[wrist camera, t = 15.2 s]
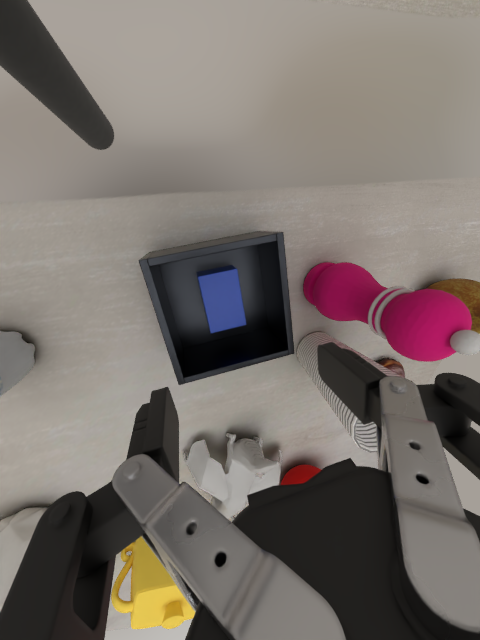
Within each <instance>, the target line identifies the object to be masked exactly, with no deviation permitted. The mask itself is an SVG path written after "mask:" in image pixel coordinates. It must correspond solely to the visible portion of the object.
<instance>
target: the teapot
mask: <svg viewBox="0 0 480 640" xmlns="http://www.w3.org/2000/svg"><path fill="white" fill-rule="evenodd" d="M128 551H132V554H131V556H130V555H129V556H128V555H126V552H128ZM121 559H122V561H123V562H126V564H125V566H124V567H123V569H122V570H121V572H120V574H119V575H118V577H117V579H116V581H115V584H114V586H113V589H112V594H111V600H112V604H113V606H114V608H115V609H116V610H117V611H119V612H121V613H128V612H131V627H132V629H143V628H149V627H155V626H161V625H162V627H163V628H166V629H171V628H175V627H177V626H179V625H180V624H181V623H183V621H184V620H188V619H192V618H193V617H194V615H195V611H194V610H193V608H192V607H191V605H190V604H189V603H188V601H187V600H186V599H185V597H184V596H183V594H182V593H181V591H180V590H179V589H178V587H177V586H176V584H175V582H174V581H173V579H172V578H171V576H170V575H169V573H168V572H167V571H166V569H165V568H164V566H163V565H162V564H161V562H160V561H159V560H158V558H157V557H156V556H155V554H154V553H153V552H152V550H151V549H150V547H149V546H148V545H147V543H146V542H145V541H144V539H143V538H142V537H140V538H138V539H137V540H136V541H135V542H133V543H131V544H130V545H129V546H127V547H126V548H125V549H123V550H122V552H121ZM131 566H132V574H131V601H123V600H121V599H120V598H119V596H118V592H119V589H120V586H121V584H122V582H123V580H124V578H125V576H126V574H127V573H128V571H129V569H130V568H131Z"/></svg>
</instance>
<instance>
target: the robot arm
mask: <svg viewBox="0 0 480 640" xmlns="http://www.w3.org/2000/svg"><path fill="white" fill-rule="evenodd" d="M317 356H318V372H319V375H320V377H321V379H322V380H323V382H324V383H325V384H326V385H327V386H328V387H329V388H330V389H331V390H332V391H333V392H334V393H335V395H336V396H337V397H338V398H339V399H340V400H341V401H342V402H343V403H344V404H345V405H346V406H347V407H348V408H349V410H350V411H351V412H352V413H353V414H354V415H355V416H356V417H357V418H358V419H359V420H360V421H361V422H362V424H363V425H365V424H368V423H371V422H374V423H375V424H376V440H377V455H378V469H376V468H371V467H362V466H356V465H355V464H354V462H353V461H352V460H351V458H349V459H346V460H343V461H341V462H338V463H335V464H332V465H329V466H327V467H325V468H324V469H322V470H321V471H320V472H318V473H317V474H316V475H314V476H313V477H312V478H310V479H309V480H308V481H306V482H305V483H301V484H289V485H276V486H271V487H269V488H266V489H263V490H260V491H258V492H255V493H252V494H249V495H247V498H248V502H249V506H247V507H246V508H245V509H243V510H242V511H241V512H240V513H239V514H238V515H237V517H236V518H235V519H234V520H233V521H232V522H230V521H229V520H228V519H227V518H226V517H225V516H224V515H222V514H221V513H220V512H219V511H218V510H217V509H216V508H215V507H213V506H212V505H211V504H210V503H209V502H208V501H207V500H206V499H204V498H203V497H202V496H201V495H200V494H199V493H198V492H197V491H195V490H194V489H193V488H192V487H191V486H190V485H189V484H187V483H186V482H182V483H181V484H179V420H178V415H177V411H176V408H175V405H174V402H173V399H172V396H171V393H170V391H169V388H168V387H165V388H162V389H158V390H154V391H152V393H151V399H150V403H147V404H143V405H142V406H141V408H140V409H139V411H138V412H137V414H136V418H135V424H134V427H133V432H132V436H131V441H130V445H129V450H128V455H127V459H126V461H125V462H123V463H122V464H121V465H120V466H119V468H118V469H117V470H116V472H115V474H114V476H113V479H112V481H111V482H110V483H108V484H107V485H105V486H104V487H102V488H101V489H99V490H97V491H96V492H94V493H92V494H91V495H89V496H87V497H86V496H85V495H84V494H83V493H82V492H78V491H76V492H71V493H68V494H66V495H64V496H62V497H61V498H59V499H58V500H56V501H55V502H54V503H53V504H52V505H51V506H49V507H48V509H47V510H46V511H45V512H44V513H43V515H42V516H41V518H40V519H39V521H38V523H37V526H36V528H35V530H34V533H33V535H32V538H31V540H30V542H29V545H28V547H27V550H26V552H25V554H24V557H23V559H22V561H21V564H20V566H19V569H18V571H17V573H16V576H15V578H14V581H13V583H12V585H11V588H10V590H9V592H8V595H7V597H6V600H5V602H4V604H3V607H2V609H1V612H0V640H104V637H105V630H106V623H107V616H108V608H109V601H110V594H111V587H112V580H113V572H114V565H115V558H116V555H117V554H118V553H119V552H121V551H122V550H123V549H125V548H126V547H127V546H129V545H130V544H131V543H133V542H134V541H135V540H137V539H138V538H140V537H142V538H143V539H144V541H145V542H146V543H147V545H148V546H149V547H150V549H151V550H152V552H153V553H154V554H155V556H156V557H157V558H158V560H159V561H160V562H161V564H162V565H163V566H164V568H165V569H166V571H167V572H168V573H169V575H170V576H171V578H172V579H173V581H174V582H175V584H176V586H177V587H178V589H179V590H180V591H181V593H182V594H183V596H184V597H185V599H186V600H187V601H188V603H189V604H190V605H191V607H192V608H193V610H194V611H195V615H194V617H193V620H192V623H191V625H190V628H189V631H188V633H187V636H186V639H185V640H480V516H478V515H476V514H474V513H472V512H470V511H468V510H465V509H463V508H462V504H461V501H460V498H459V495H458V492H457V489H456V486H455V483H454V480H453V477H452V474H451V471H450V467H449V464H448V462H447V458H446V455H445V452H444V449H443V447H444V448H445V449H446V450H447V451H448V452H449V453H451V454H452V455H453V456H454V457H455V458H456V459H457V460H458V461H459V462H461V463H462V464H463V465H464V466H465V467H466V468H467V469H468V470H469V471H471V472H472V473H473V474H474V475H475V476H476V477H477V478H478V479H479V480H480V434H479V433H478V432H477V431H475V430H474V429H473V428H471V427H470V425H471V422H472V421H474V422H475V423H476V424H478V425H479V426H480V383H478V382H476V381H474V380H472V379H471V378H468V377H466V376H463V375H460V374H455V373H442V374H439V375H437V376H436V378H435V384H430V385H429V384H428V385H415V384H414V383H413V382H412V381H410V380H408V379H406V378H402V377H397V376H387V375H386V374H384V373H383V372H381V371H380V370H379V369H377V368H376V367H374V366H373V365H372V364H370V363H369V362H367V361H366V360H365V359H363V358H361V356H359V355H358V354H356V353H355V352H354V351H351V350H348V349H345V348H342V349H341V348H340V347H339V346H338V345H336V344H335V343H333V342H329V343H326V344H322V345H319V346H318V347H317Z"/></svg>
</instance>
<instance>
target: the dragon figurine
mask: <svg viewBox="0 0 480 640" xmlns="http://www.w3.org/2000/svg"><path fill="white" fill-rule="evenodd" d="M226 437H229V438H230V439H229V441H228V442H227V454H228V456H227V460H226V464H225V468H224V470H223V468H222V465H221V464H220V463H219V462H217V461H215V460H214V459H212V458H211V457H210V454H209V451H208V448H207V446H206V443H205V440H201V441H197V442H195V443H194V444H193V445H192V447H191V449H190V453H189V457H188V459H187V456H186V453H185V452H184V454H183V455H184V461H185V463H186V464H187V466H188V468H189V470H190V472H191V474H192V476H193V478H194V480H195V482H196V484H197V486H198V488H200V489H202V490H203V491H205V492H207V493H209V494H211V495H212V496H213V498H212V500H211V505H212V506H213V507H215V508H216V509H217V510H218V511H219V512H220V513H221V514H222V515H224V516H225V517H226V518H227V519H230V518H232V520H234V519H235V517H234V515H235V514H236V513H238V512H239V511H240V510H243V509H244V507H245V506H246V504H247V502H248V498H247V495H249V494H252V493H255V492H258V491H260V490H263V489H266V488H269V487H271V486H276V485H278V484H279V481H280V473H281V463H282V457H283V454H282V452H281V451H280V450H279V461H270V460H269V459H267V458H264V454H263V450H262V444H263V439H261V438H258V437H254V436H253V439H246V438H244V439H239V440H237V441H236V442H235V443H234V441H235V439H236V435H234V434H230V433H227V434H226ZM256 441H257V442H256ZM262 473H265V474H264V475H263V476H262V477H258V476H256V474H262ZM237 515H238V514H237Z"/></svg>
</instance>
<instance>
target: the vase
mask: <svg viewBox="0 0 480 640" xmlns="http://www.w3.org/2000/svg"><path fill="white" fill-rule="evenodd" d="M47 509H48V508H40V507H36V508H26V509H23V510H21V511H20V512H18V513H17V514H14V515H12V516H9V517H6V518H4V519H2V520H1V521H0V612H1V609H2V607H3V604H4V602H5V600H6V597H7V595H8V592H9V590H10V588H11V585H12V583H13V581H14V578H15V576H16V573H17V571H18V569H19V566H20V564H21V561H22V559H23V557H24V554H25V552H26V550H27V547H28V545H29V542H30V540H31V538H32V535H33V533H34V530H35V528H36V526H37V523H38V521H39V519H40V518H41V516H42V515H43V513H44V512H45V511H46V510H47Z"/></svg>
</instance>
